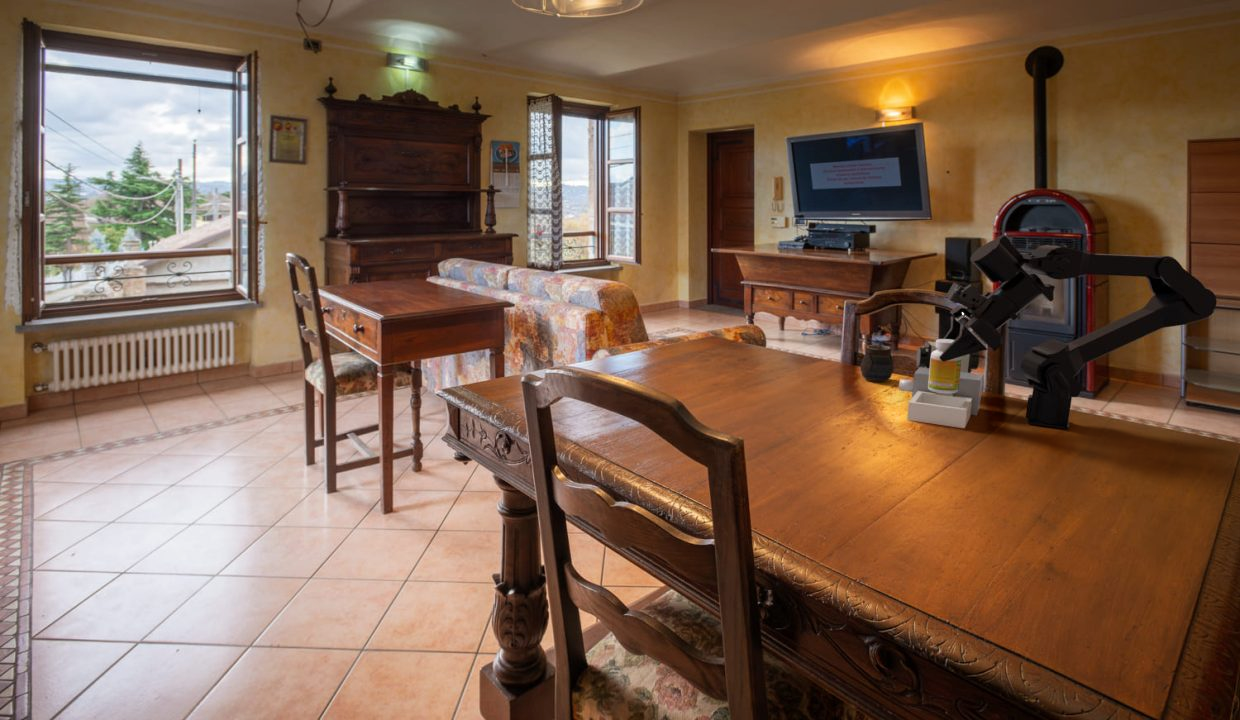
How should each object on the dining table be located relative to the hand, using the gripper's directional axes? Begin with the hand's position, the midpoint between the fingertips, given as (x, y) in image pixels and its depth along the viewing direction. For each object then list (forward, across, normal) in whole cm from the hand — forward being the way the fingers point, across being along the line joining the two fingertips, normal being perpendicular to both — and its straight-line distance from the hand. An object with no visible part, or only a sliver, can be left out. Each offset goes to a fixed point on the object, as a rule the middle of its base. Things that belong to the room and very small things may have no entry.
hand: (938, 356), depth 133 cm
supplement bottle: (+4, 0, +6) cm, 7 cm away
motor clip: (+8, -4, +9) cm, 12 cm away
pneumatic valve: (+5, -21, +12) cm, 25 cm away
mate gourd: (+14, -29, +3) cm, 32 cm away
